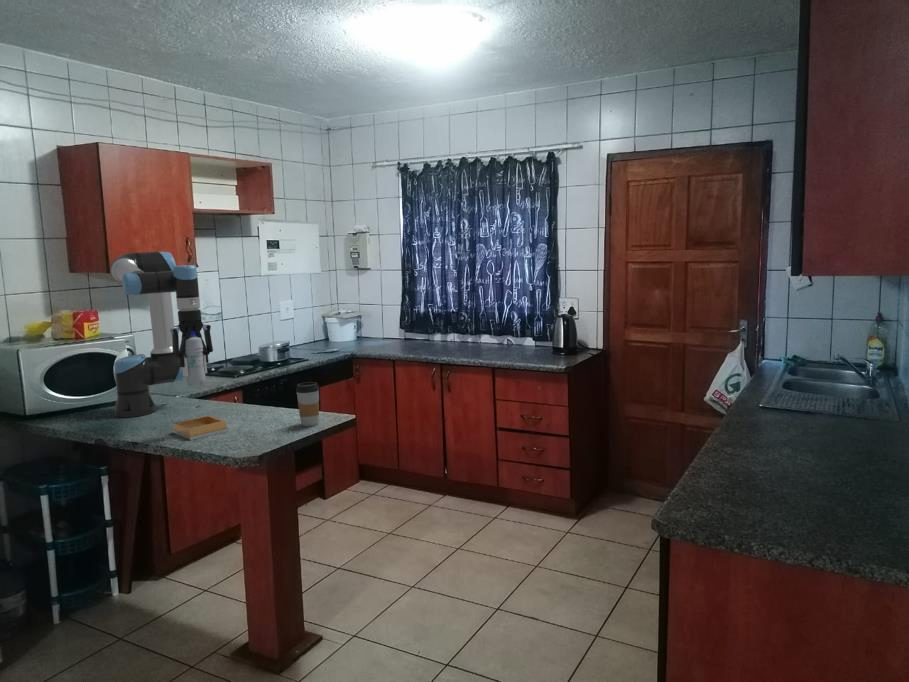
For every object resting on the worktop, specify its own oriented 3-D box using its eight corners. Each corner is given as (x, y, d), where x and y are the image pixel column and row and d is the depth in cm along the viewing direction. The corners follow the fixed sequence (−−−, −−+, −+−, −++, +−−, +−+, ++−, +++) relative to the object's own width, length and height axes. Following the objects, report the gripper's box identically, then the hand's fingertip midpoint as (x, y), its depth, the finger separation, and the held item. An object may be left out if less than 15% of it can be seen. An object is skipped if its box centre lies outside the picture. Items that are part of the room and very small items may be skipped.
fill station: (172, 432, 238) (171, 422, 237) (210, 424, 247) (209, 414, 247) (190, 440, 227) (189, 430, 226) (228, 431, 237) (227, 421, 236)
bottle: (199, 387, 231) (194, 330, 228) (182, 387, 232) (176, 330, 229) (210, 383, 237) (205, 328, 234) (193, 382, 238) (188, 328, 235)
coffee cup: (296, 423, 245) (293, 383, 242) (318, 419, 248) (316, 380, 246) (300, 428, 237) (297, 387, 235) (323, 425, 240) (321, 385, 238)
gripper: (165, 312, 221) (172, 380, 225) (219, 307, 234) (225, 371, 238) (157, 311, 227) (163, 377, 230) (210, 306, 240) (216, 368, 243)
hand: (195, 374), depth 234 cm, fingers closed on bottle, 6 cm apart
